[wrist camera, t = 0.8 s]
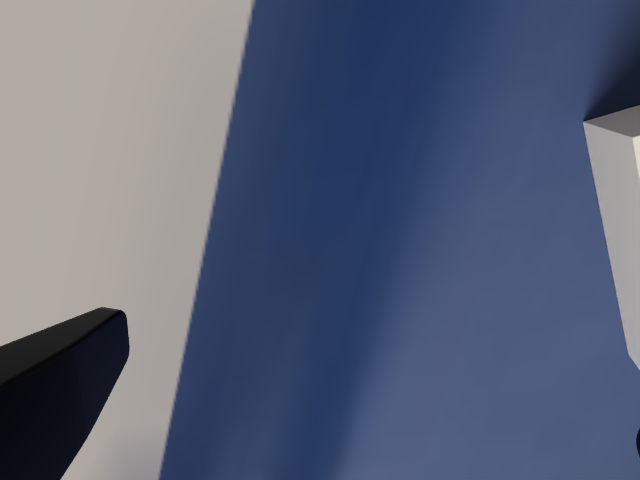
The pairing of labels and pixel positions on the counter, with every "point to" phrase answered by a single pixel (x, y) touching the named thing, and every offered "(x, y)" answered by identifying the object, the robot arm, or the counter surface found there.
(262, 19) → the counter surface
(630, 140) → the tray
